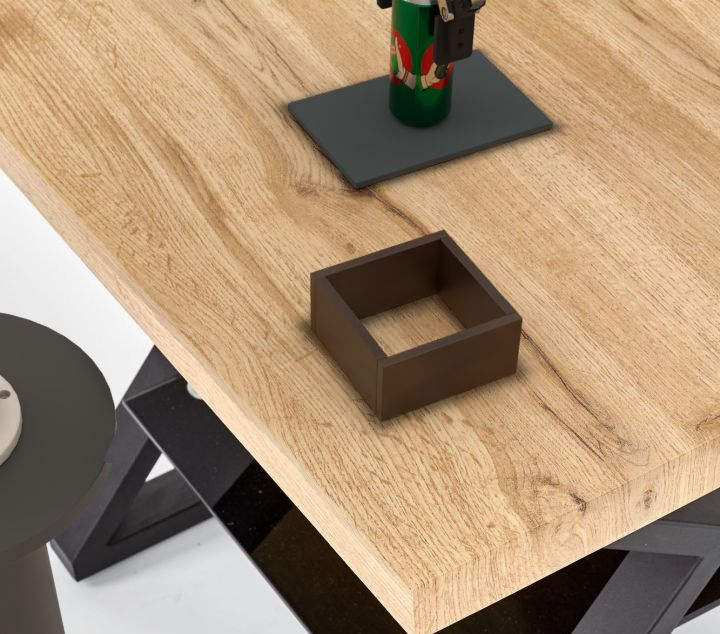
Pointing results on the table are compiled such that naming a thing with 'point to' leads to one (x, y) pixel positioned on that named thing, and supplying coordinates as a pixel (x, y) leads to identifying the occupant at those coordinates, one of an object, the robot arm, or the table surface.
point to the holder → (425, 362)
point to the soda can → (417, 66)
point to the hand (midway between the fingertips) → (423, 30)
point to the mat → (417, 144)
